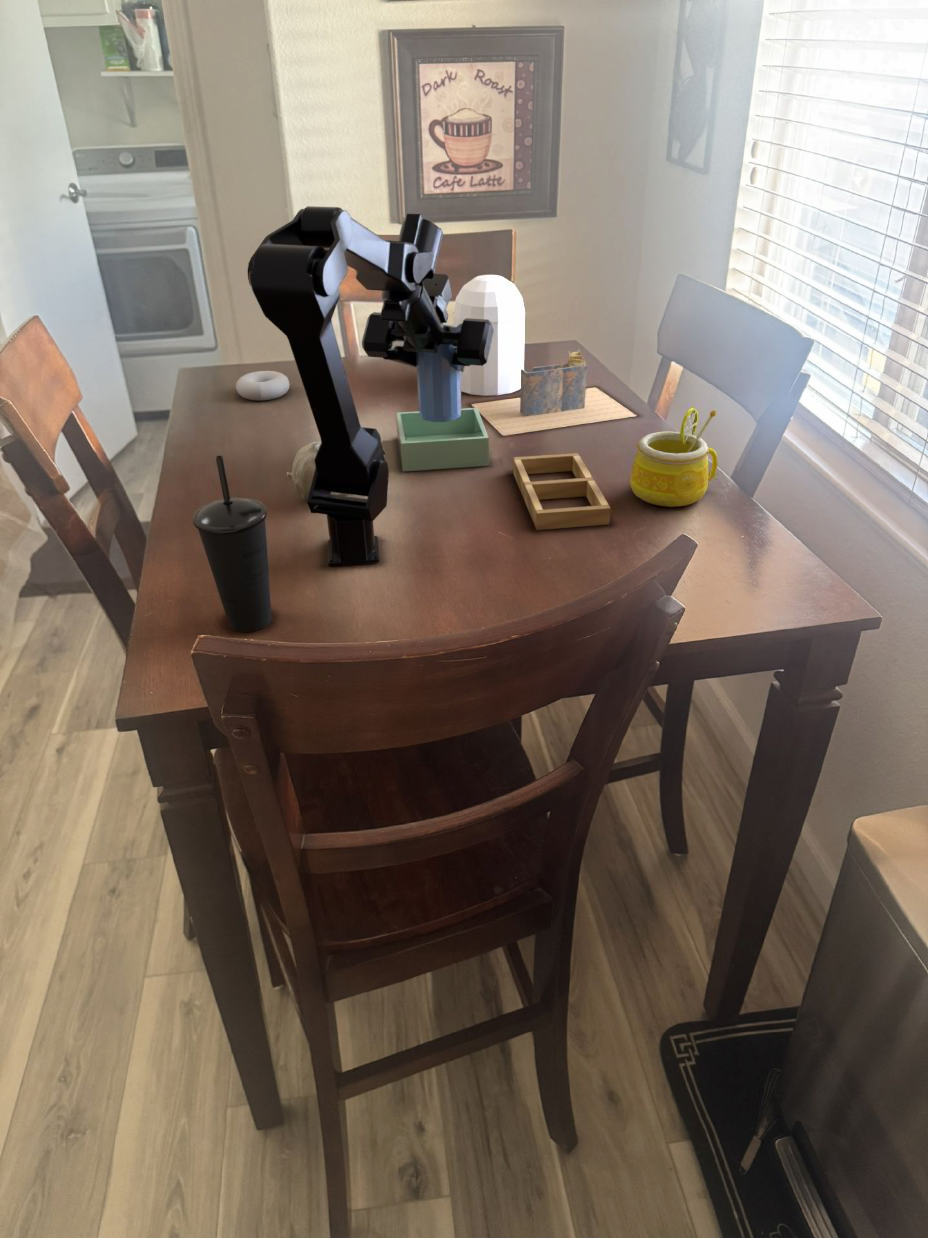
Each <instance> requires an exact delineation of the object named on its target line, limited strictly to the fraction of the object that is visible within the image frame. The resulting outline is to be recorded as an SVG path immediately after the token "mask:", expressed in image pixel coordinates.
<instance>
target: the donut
mask: <svg viewBox="0 0 928 1238" xmlns="http://www.w3.org/2000/svg"><path fill="white" fill-rule="evenodd" d="M290 384H291V383H290V381H289V378H288V376H286V375H285V374H283V373H282V372H279V371H275V370H259V371H252V372H250V373H249V372H248V373H246V374H244V375H242V376H241V377H239V379H238V380H237V381H236V384H235V388H236V393H238V395H239V396H241V397H242V398H243V399H247V400H249V401H256V402H257V401H258V402H259V401H270V400H274V399H279V398H280V397H282V396H284V395H285V394H287V393H288V391H289V389H290V387H291V386H290Z"/></svg>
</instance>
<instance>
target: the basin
mask: <svg viewBox="0 0 928 1238" xmlns="http://www.w3.org/2000/svg"><path fill="white" fill-rule="evenodd" d="M395 418H396V430H397V431H396V432H397V443H398V449H399V455H400V456H399V457H400V463H401V468H402V472H419V471H430V470H433V471H434V470H445V469H446V470H448V469H461V468H462V469H463V468H475V467H489V466H490V437H489V434H488V432H487V430H486V429H487V428H486V427H485V424H484V422H483V419H482V417H481V413H480V412H479V411H478V409H477V408H474V407H467V408H461V416H460V417H459V418H457V419H455V420H452V421H447V422H431V421H426V420H423V419H422V418H420V416H419V410H417V411H416V410H415V411H402V412H395Z"/></svg>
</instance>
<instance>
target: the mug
mask: <svg viewBox="0 0 928 1238" xmlns="http://www.w3.org/2000/svg"><path fill="white" fill-rule="evenodd" d="M698 413H699V412H698V410H697V409H696V408H693V407H691V408H689V409H688V410H687V412H686V413H685V415H684V416H683V418H682V421H681V426H680V431H673V430H671V431H669V430H666V431H657V432H653V433H648V434H647V435H645V436H643V437H642V438H640V439H639V441H638V442H637V444H636V448H637V452H636V454H635V456H634V460H633V464H632V468H631V473H630V479H629V480H630V483H629V484H630V488H631V491H632V493H633V494H634V495H635V496H636V497H637V498H639V499H640V500H642V501H644V502H645V503H648V504H651V505H656V506H660V507H666V508H667V507H668V508H677V507H685V506H689V505H692V504H694V503H696V502H698V501H701V499H703V497H704V496H705V495H706V494H705V493H706V492H707V490H708V485H709V482H710V481H712V480H713V479H714V478H715V476H716V474H717V471H718V465H719V463H718V461H719V460H718V459H719V458H718V453H717V451H715V449H713V448H711V447H709V445H708V444H707V443H706V441H705V440H704V439H702V438H701V436H702V435H703V433H704V432H705V430H706V428H707V426H708V425H709V423H710V421H711V420H712V418H714V417H716V415H717V411H716V410H715V409H713V410H711V411H710V412H709V417H708V418H707V420H706V421H705V424H704V425H703V426H702V428H701V430H700V431H699V433H698V434H697V436H696V435H695V434H696V431H697V429H698V422H699V414H698ZM691 419H692V421H691ZM686 424H687V425H686ZM691 428H692V429H691ZM708 454H709V455H710V456H711V468H710V472H709V457H708Z"/></svg>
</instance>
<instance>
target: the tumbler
mask: <svg viewBox="0 0 928 1238" xmlns="http://www.w3.org/2000/svg"><path fill="white" fill-rule="evenodd" d="M443 327H456V326H454V325H451V324H445V323H443ZM454 351H455V349H454V348H453V345H446V344H440V345H439V347H438V349H437V353H425V352H416V365H417V368H416V382H417V383H416V384H417V385H416V386H417V401H418V402H417V404H418V405H417V406H418V411H419V416H420V418H422V419H423V420H426V421H431V422H447V421H452V420H455V419H457V418H459V417H460V416H461V409H462V391H461V371H459V370H458V369H457V368H455V367H454V366H453V365H452V359H453V355H454Z"/></svg>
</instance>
